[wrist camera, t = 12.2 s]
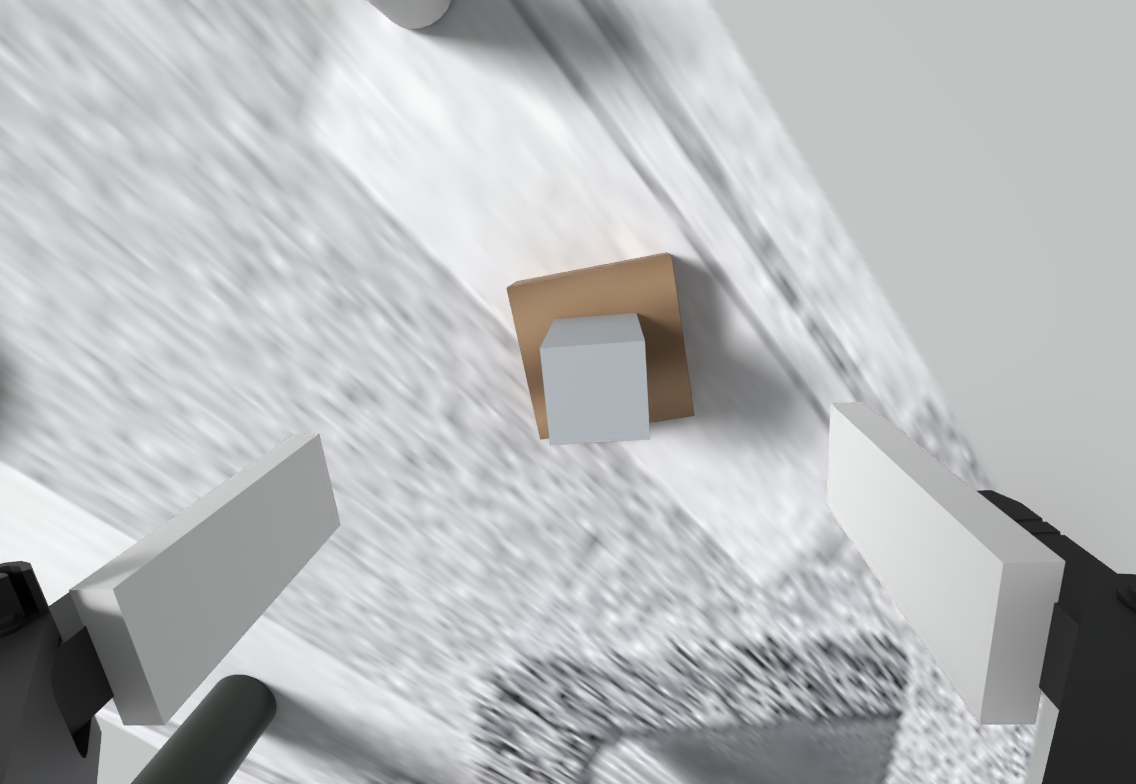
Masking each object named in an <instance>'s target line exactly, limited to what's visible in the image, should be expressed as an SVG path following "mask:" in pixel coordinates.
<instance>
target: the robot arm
mask: <svg viewBox="0 0 1136 784" xmlns="http://www.w3.org/2000/svg"><path fill="white" fill-rule="evenodd" d="M826 506H827V507H828V508H829V510H830V511H831V513H832V514H833V516H834V517H835V518H836V520H837V521H838V523H839V524H840V526H841V527H842V528H843V530H844V531H845V533H846V534H847V536H848V537H849V539H850V540H851V541H852V543H853V544H854V546H855V547H856V549H857V550H858V551H859V553H860V554H861V556H862V557H863V559H864V560H865V561H866V563H867V564H868V566H869V567H870V569H871V570H872V571H873V573H874V574H875V576H876V577H877V579H878V580H879V582H880V583H881V584H882V586H883V587H884V589H885V590H886V592H887V593H888V594H889V596H890V597H891V599H892V600H893V602H894V603H895V604H896V606H897V607H898V609H899V610H900V612H901V613H902V614H903V616H904V617H905V619H906V620H907V622H908V623H909V625H910V626H911V627H912V629H913V630H914V632H915V633H916V635H917V636H918V637H919V639H920V640H921V642H922V643H923V645H924V646H925V647H926V649H927V650H928V652H929V653H930V655H931V656H932V657H933V659H934V660H935V662H936V663H937V665H938V666H939V668H940V669H941V670H942V672H943V673H944V675H945V676H946V678H947V679H948V680H949V682H950V683H951V685H952V686H953V688H954V689H955V690H956V692H957V693H958V695H959V696H960V698H961V699H962V700H963V702H964V703H965V705H966V706H967V708H968V709H969V711H970V712H971V713H972V715H973V716H974V718H975V719H976V721H977V722H978V723H979V724H1035V722H1036V717H1037V711H1038V706H1039V700H1040V695H1041V690H1042V691H1043V692H1044V693H1045V695H1046V696H1047V697H1048V698H1049V699H1050V700H1051V701H1052V702H1053V703H1054V705H1055V706H1056V707H1057V708H1058V709H1059V713H1058V718H1057V722H1056V727H1055V730H1054V735H1053V739H1052V743H1051V747H1050V752H1049V756H1048V761H1047V765H1046V769H1045V773H1044V777H1043V782H1042V784H1136V575H1135V574H1117V573H1116V572H1114V571H1113V570H1112V569H1110V568H1109V567H1108V566H1106V565H1105V564H1103V563H1102V562H1101V561H1099V560H1098V559H1097V558H1095V557H1094V556H1093V555H1091V554H1090V553H1088V552H1087V551H1085V550H1084V549H1083V548H1082V547H1080V546H1079V545H1077V544H1076V543H1075V542H1073V541H1072V540H1071V539H1069V538H1068V537H1067V536H1065V535H1061V534H1060V531H1058V530H1057V529H1056V528H1054V527H1053V526H1052V525H1050V524H1049V523H1048V522H1043V521H1042V518H1041V517H1039V516H1038V515H1036V514H1035V513H1034V512H1033V511H1031V510H1030V509H1029V508H1027V507H1026V506H1024V505H1023V504H1022V503H1020V502H1018V501H1015V500H1013V499H1011V498H1008V497H1006V496H1004V495H1001V494H999V493H997V492H994V491H992V490H984V491H976V490H975V489H973V488H972V487H971V486H970V485H968V484H967V483H966V482H964V481H963V480H962V479H961V478H959V477H958V476H957V475H956V474H954V473H953V472H952V471H951V470H949V469H948V468H947V467H946V466H944V465H943V464H942V463H940V462H939V461H938V460H937V459H935V458H934V457H933V456H932V455H930V454H929V453H928V452H927V451H925V450H924V449H923V448H922V447H920V446H919V445H918V444H916V443H915V442H914V441H913V440H911V439H910V438H909V437H908V436H906V435H905V434H904V433H903V432H901V431H900V430H899V429H898V428H896V427H895V426H894V425H892V424H891V423H890V422H889V421H887V420H886V419H885V418H884V417H882V416H881V415H880V414H879V413H877V412H876V411H875V410H874V409H872V408H871V407H870V406H868V405H867V404H866V403H865V402H852V403H835V404H831V410H830V432H829V455H828V478H827V500H826ZM340 525H341V524H340V520H339V516H338V512H337V507H336V503H335V499H334V495H333V490H332V486H331V482H330V478H329V473H328V469H327V465H326V461H325V456H324V452H323V448H322V444H321V439H320V435H319V434H302V435H292V436H290V437H289V438H287V439H286V440H284V441H283V442H281V443H280V444H279V445H277V446H276V447H274V448H273V449H271V450H270V451H269V452H267V453H266V454H264V455H263V456H261V457H260V458H258V459H257V460H256V461H254V462H253V463H251V464H250V465H248V466H247V467H245V468H244V469H243V470H241V471H240V472H238V473H237V474H235V475H234V476H233V477H231V478H230V479H228V480H227V481H225V482H224V483H222V484H221V485H220V486H218V487H217V488H215V489H214V490H212V491H211V492H210V493H208V494H207V495H205V496H204V497H202V498H201V499H199V500H198V501H197V502H195V503H194V504H192V505H191V506H189V507H188V508H187V509H185V510H184V511H182V512H181V513H179V514H178V515H176V516H175V517H174V518H172V519H171V520H169V521H168V522H166V523H165V524H163V525H162V526H161V527H159V528H158V529H156V530H155V531H153V532H152V533H151V534H149V535H148V536H146V537H145V538H143V539H142V540H140V541H139V542H138V543H136V544H135V545H133V546H132V547H130V548H129V549H128V550H126V551H125V552H123V553H122V554H120V555H119V556H117V557H116V558H115V559H113V560H112V561H110V562H109V563H107V564H106V565H105V566H103V567H102V568H100V569H99V570H97V571H96V572H94V573H93V574H92V575H90V576H89V577H87V578H86V579H84V580H83V581H82V582H80V583H79V584H77V585H76V586H74V587H73V588H71V589H70V590H69V591H70V592H69V593H67V594H66V595H64V596H63V597H62V598H60V599H59V600H57V601H56V602H54V603H53V604H52V605H50V606H48V604H47V602H46V599H45V597H44V594H43V592H42V590H41V587H40V585H39V583H38V580H37V578H36V576H35V573H34V571H33V568H32V566H31V564H30V563H28V562H23V561H17V562H7V563H2V564H0V784H97V775H98V765H99V755H100V754H99V753H100V744H101V730H100V727H99V725H98V722H97V720H96V717H95V714H96V713H97V712H98V711H99V710H100V709H101V708H102V707H103V706H104V705H105V704H106V703H107V702H108V701H109V700H110V699H111V698H112V697H113V700H114V702H115V705H116V707H117V709H118V712H119V714H120V717H121V719H122V722H123V724H124V725H165V724H166V723H167V722H168V721H169V720H170V718H171V717H172V716H173V715H174V714H175V713H176V712H177V710H178V709H179V708H180V707H181V706H182V705H183V704H184V702H185V701H186V700H187V699H188V698H189V697H190V696H191V694H192V693H193V692H194V691H195V690H196V689H197V688H198V686H199V685H200V684H201V683H202V682H203V681H204V680H205V679H206V677H207V676H208V675H209V674H210V673H211V672H212V671H213V669H214V668H215V667H216V666H217V665H218V664H219V663H220V661H221V660H222V659H223V658H224V657H225V656H226V655H227V653H228V652H229V651H230V650H231V649H232V648H233V647H234V646H235V644H236V643H237V642H238V641H239V640H240V639H241V638H242V636H243V635H244V634H245V633H246V632H247V631H248V630H249V628H250V627H251V626H252V625H253V624H254V623H255V622H256V620H257V619H258V618H259V617H260V616H261V615H262V614H263V612H264V611H265V610H266V609H267V608H268V607H269V606H270V605H271V603H272V602H273V601H274V600H275V599H276V598H277V597H278V595H279V594H280V593H281V592H282V591H283V590H284V589H285V587H286V586H287V585H288V584H289V583H290V582H291V581H292V579H293V578H294V577H295V576H296V575H297V574H298V573H299V572H300V570H301V569H302V568H303V567H304V566H305V565H306V564H307V562H308V561H309V560H310V559H311V558H312V557H313V556H314V554H315V553H316V552H317V551H318V550H319V549H320V548H321V546H322V545H323V544H324V543H325V542H326V541H327V540H328V538H329V537H330V536H331V535H332V534H333V533H334V532H335V531H336V529H337V528H338V527H339V526H340Z"/></svg>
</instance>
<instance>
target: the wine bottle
mask: <svg viewBox="0 0 1136 784" xmlns="http://www.w3.org/2000/svg"><path fill="white" fill-rule="evenodd" d="M275 712H276V703H275V699H274V697H273V695H272V693H271V692H270V691H269V689H268V688H267V687H266V686H265V685H263V684H262V683H261V682H259V681H257V680H256V679H253V678H251V677H248V676H243V675H232V676H228V677H225V678H223V679H222V680H220V681H219V682H218V683H217V684H216V685H215V687H214V688H213V689H212V690H211V691H210V692H209V693H208V695H207V696H206V697H205V698H204V699H203V700H202V702H201V703H200V704H199V705H198V706H197V707H196V709H195V710H194V711H193V712H192V713H191V714H190V716H189V717H188V718H187V719H186V720H185V721H184V723H183V724H182V725H181V726H180V727H179V728H178V729H177V731H176V732H175V733H174V734H173V735H172V736H171V738H170V739H169V740H168V741H167V742H166V743H165V745H164V746H163V747H162V748H161V749H160V750H159V752H158V753H157V754H156V755H155V756H154V758H153V759H152V760H151V761H150V762H149V763H148V764H147V765H146V767H145V768H144V769H143V770H142V771H141V772H140V774H139V775H138V776H137V777H136V778H135V779H134V781H133V782H132V783H131V784H228V782H229V781H230V780H231V778H232V777H233V775H234V774H235V772H236V771H237V769H238V768H239V766H240V765H241V764H242V762H243V761H244V759H245V758H246V756H247V755H248V753H249V752H250V751H251V749H252V748H253V746H254V745H255V743H256V742H257V740H258V739H259V738H260V736H261V735H262V733H263V732H264V730H265V729H266V727H267V726H268V725H269V723H270V722H271V720H272V719H273V717H274V715H275Z"/></svg>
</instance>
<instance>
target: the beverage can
mask: <svg viewBox="0 0 1136 784" xmlns="http://www.w3.org/2000/svg"><path fill="white" fill-rule="evenodd" d="M367 1H369V2H370V3H371V4H372V5H373V6H374V7H376V8H377V9H378V10H379V11H380V12H381V13H383V14H384V15H385V16H386V17H387V18H389V19H390V20H391V21H392V22H394V23H396V24H397V25H399V26H401V27H404V28H408V29H418V28H423V27H426V26H429V25H431V24H433V23H434V22H436V21H437V20H439V19H440V18H441V17H442V16H443V15H444V13H445V12H446V11H447V10H448V7H449V5H450V3H451V1H452V0H367Z"/></svg>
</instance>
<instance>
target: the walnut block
mask: <svg viewBox="0 0 1136 784" xmlns="http://www.w3.org/2000/svg"><path fill="white" fill-rule="evenodd" d="M507 292H508V297H509V301H510V306H511V310H512V315H513V319H514V324H515V328H516V333H517V337H518V342H519V346H520V351H521V355H522V360H523V364H524V369H525V373H526V378H527V382H528V387H529V391H530V395H531V400H532V404H533V409H534V413H535V418H536V422H537V427H538V431H539V436H540V439H547V438H549V430H548V421H547V412H546V402H545V393H544V383H543V374H542V364H541V355H540V347H541V345H542V343H543V341H544V339H545V337H546V335H547V333H548V331H549V329H550V327H551V324H552V322H553V320H554V319H563V318H576V317H589V316H602V315H614V314H627V313H637V317H638V320H639V323H640V327H641V330H642V333H643V336H644V340H645V353H646V372H647V392H648V411H649V423H651V422H657V421H664V420H670V419H677V418H683V417H690V416H694V410H693V403H692V396H691V389H690V382H689V375H688V368H687V361H686V354H685V347H684V340H683V333H682V326H681V319H680V312H679V305H678V299H677V292H676V285H675V278H674V271H673V264H672V257H671V255H669V254H668V253H667V252H666V253H661V254H656V255H651V256H646V257H641V258H635V259H630V260H625V261H620V262H615V263H610V264H604V265H599V266H594V267H589V268H584V269H578V270H573V271H568V272H563V273H558V274H553V275H547V276H542V277H537V278H532V279H527V280H521V281H516V282H515V283H513V284H512V285H510V286H509V287H507Z"/></svg>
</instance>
